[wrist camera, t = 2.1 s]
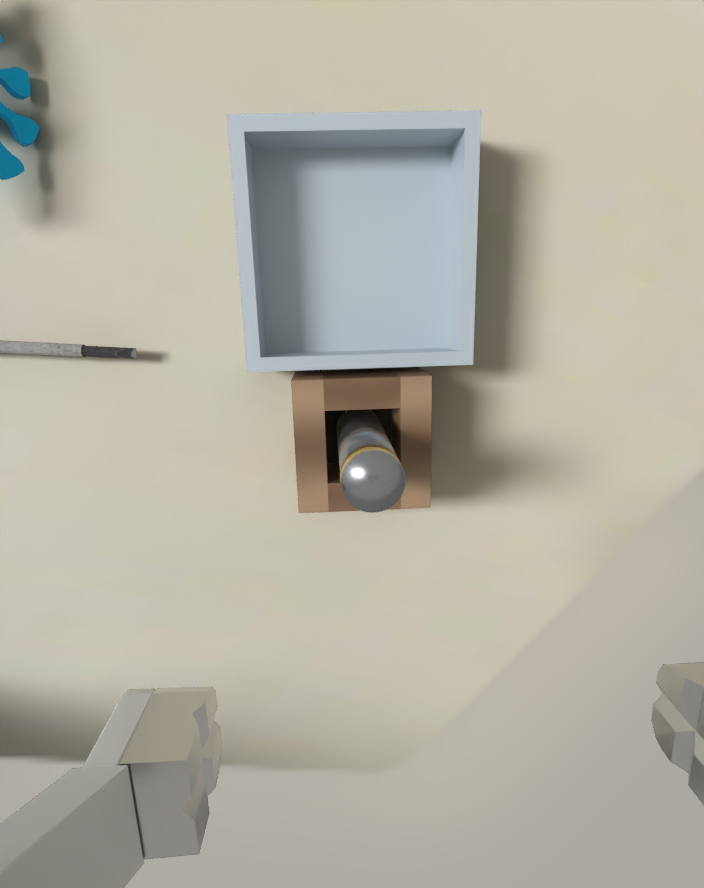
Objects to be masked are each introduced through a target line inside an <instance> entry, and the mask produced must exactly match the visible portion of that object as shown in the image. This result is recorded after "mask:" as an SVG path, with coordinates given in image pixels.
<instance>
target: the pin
mask: <svg viewBox="0 0 704 888" xmlns="http://www.w3.org/2000/svg"><path fill="white" fill-rule="evenodd" d="M337 441H338V454H339V466H340V483H341V489H342V492H343V495H344V496H345V498H346V499H347V501H348V502H349V503H350V504H351V505H352V506H354V507H355V508H357V509H359V510H362V511H365V512H380V511H383V510H386V509H388V508H390V507H391V506H393V505H394V504H395V503H396V502H397V501H398V500H399V499H400V497H401V496H402V494H403V491H404V488H405V482H406V478H405V472H404V469H403V467H402V465H401V463H400V461H399V459H398V457H397V456H396V454H395V451H394V449H393V447H392V445H391V443H390V441H389V439H388V437H387V435H386V433H385V431H384V429H383V427H382V425H381V423H380V421H379V419H378V417H377V416H376V415H375V414H374V413H373V412H372V411H370V410H368V409H364V410H348V411H346V412H345V413H344V414H343V415H342V416H341V417H340V419H339V421H338V423H337Z"/></svg>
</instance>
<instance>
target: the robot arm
mask: <svg viewBox="0 0 704 888" xmlns="http://www.w3.org/2000/svg"><path fill="white" fill-rule="evenodd" d="M656 683H657V685H658V687H659V688H660V689H661V691H662V692H663V693H662V695H661V696H660V697H659V698H658V699H657V700H656V701H655V702H654V704H653V710H652V724H653V728H654V733H655V736H656V739H657V741H658V743H659V745H660V747H661V749H662V750H663V752H664V753H665V754H666V756H667V757H668V759H669V760H670V761H671V762H672V763H673V764H675V765H677V766H678V767H680V768H681V769H683V770H685V771H686V772H688V775H689V776H688V777H689V779H688V780H689V782H688V783H689V784H688V785H689V787H690V788H691V789H692V790H693V792H694V793H695V794H696V796H697V797H698V798H699V800H700V801H701V802H702V804H703V805H704V662H698V663H681V664H663V666H662V667H661V668H660V670H659V671H658V676H657V682H656ZM217 706H218V705H217V698H216V691H215V689H214V688H213V687H187V688H157V689H131V690H128V691H127V692H125V693H124V694H123V695H122V696H121V698H120V700H119V702H118V704H117V705H116V707H115V709H114V711H113V713H112V715H111V716H110V718H109V720H108V722H107V724H106V726H105V727H104V729H103V731H102V733H101V735H100V736H99V738H98V740H97V742H96V744H95V746H94V747H93V749H92V751H91V753H90V755H89V757H88V758H87V760H86V762H85V764H84V766H83V768H73V769H72V770H70V771H69V772H68V773H66V774H65V775H64V776H62V777H61V778H60V779H58V780H57V781H56V782H55V783H53V784H52V785H51V786H49V787H48V788H47V789H46V790H44V791H43V792H42V793H40V794H39V795H37V796H36V797H35V798H33V799H32V800H31V801H30V802H28V803H27V804H26V805H24V806H23V807H22V808H20V809H19V810H18V811H16V812H15V813H14V814H13V815H11V816H10V817H9V818H7V819H6V820H5V821H3V822H2V823H1V824H0V888H124V887H125V886H126V885H127V884H128V882H129V881H130V880H131V879H132V877H133V876H134V875H135V874H136V872H137V871H138V870H139V869H140V868H141V866H142V865H143V864H144V859H154V858H165V857H176V856H185V855H197V854H199V853H200V849H201V845H202V841H203V836H204V833H205V829H206V824H207V820H208V816H209V807H208V798H207V796H208V795H209V794H210V793H211V792H212V791H213V790H214V789H215V787H216V783H217V778H218V774H219V767H220V758H221V733H220V726H219V725H218V724H217V723H216V722H215V721H214V717H215V713H216V710H217Z"/></svg>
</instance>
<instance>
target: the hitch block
mask: <svg viewBox="0 0 704 888" xmlns="http://www.w3.org/2000/svg"><path fill="white" fill-rule="evenodd" d="M291 387H292V404H293V421H294V438H295V455H296V473H297V490H298V507H299V513H314V512H337V511H359V509H357V508H355V507H354V506H352V505H351V504H350V503H349V502H348V501H347V499H346V498H345V496H344V495H343V492H342V489H341V483H340V466H339V462H327V439H326V415H325V411H337V410H364V409H391V433H392V447H393V449H394V451H395V454H396V456H397V457H398V459H399V461H400V463H401V465H402V467H403V469H404V472H405V478H406V482H405V488H404V491H403V494H402V496H401V497H400V499H399V500H398V501H397V502H396V503H395V504H394V505H393V506H391V507H390V508H388V509H405V508H427V507H430V504H431V415H432V376H431V375H430V374H428V373H426V372H425V371H423V370H421V369H420V368H396V369H366V370H336V371H306V372H296V373H295V374H294V376H293V378H292V380H291Z"/></svg>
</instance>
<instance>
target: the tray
mask: <svg viewBox="0 0 704 888" xmlns="http://www.w3.org/2000/svg"><path fill="white" fill-rule="evenodd" d="M227 125H228V137H229V150H230V162H231V175H232V188H233V200H234V213H235V225H236V238H237V250H238V263H239V276H240V288H241V301H242V313H243V326H244V339H245V351H246V364H247V372H271V371H301V370H331V369H362V368H392V367H422V366H452V365H473V354H474V323H475V291H476V259H477V227H478V195H479V164H480V132H481V111H415V112H342V113H269V114H227Z"/></svg>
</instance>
